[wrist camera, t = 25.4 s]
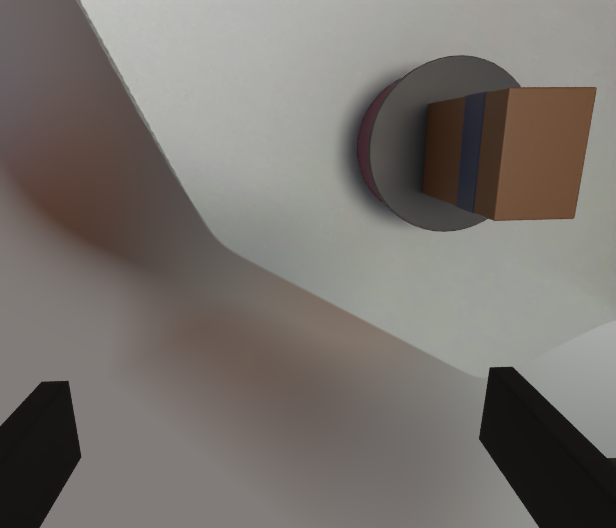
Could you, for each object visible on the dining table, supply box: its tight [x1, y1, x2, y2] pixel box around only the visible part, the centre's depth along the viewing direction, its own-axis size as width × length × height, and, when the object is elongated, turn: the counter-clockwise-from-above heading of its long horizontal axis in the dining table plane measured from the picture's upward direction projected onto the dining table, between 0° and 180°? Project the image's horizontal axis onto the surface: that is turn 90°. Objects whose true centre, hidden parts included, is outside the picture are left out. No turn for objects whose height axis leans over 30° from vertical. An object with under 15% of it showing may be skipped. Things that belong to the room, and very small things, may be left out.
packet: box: [423, 87, 597, 221], centre depth 27 cm, size 6×4×11 cm
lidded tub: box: [357, 55, 520, 232], centre depth 35 cm, size 13×13×6 cm
